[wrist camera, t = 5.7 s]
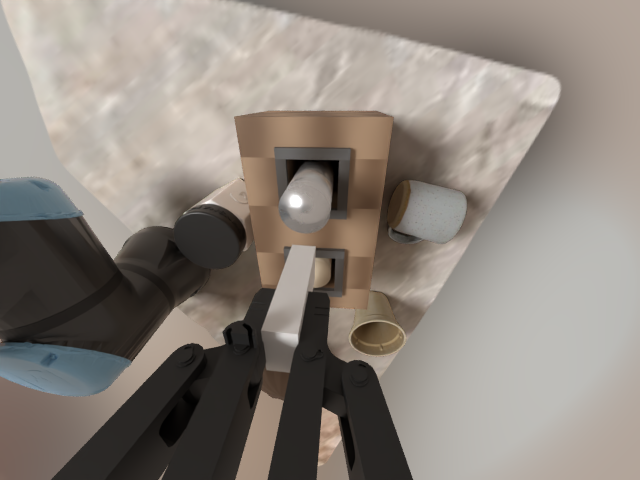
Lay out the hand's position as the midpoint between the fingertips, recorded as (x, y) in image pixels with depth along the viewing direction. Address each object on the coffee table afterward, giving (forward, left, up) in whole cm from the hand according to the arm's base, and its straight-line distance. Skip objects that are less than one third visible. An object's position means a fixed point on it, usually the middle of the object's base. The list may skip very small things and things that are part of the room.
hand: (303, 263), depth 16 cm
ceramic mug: (+14, -6, -23) cm, 27 cm away
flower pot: (+10, -26, -23) cm, 36 cm away
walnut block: (0, -4, -23) cm, 23 cm away
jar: (-13, -6, -23) cm, 27 cm away
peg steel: (0, +2, -15) cm, 15 cm away
